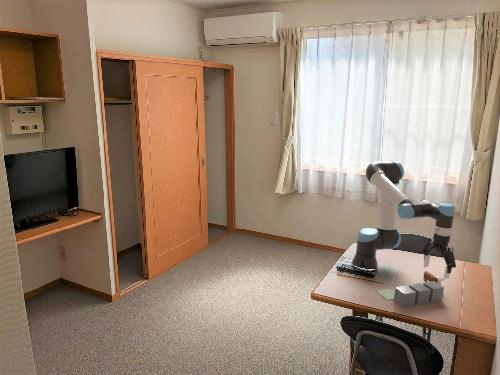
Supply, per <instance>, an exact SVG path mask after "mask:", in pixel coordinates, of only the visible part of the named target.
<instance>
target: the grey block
mask: <svg viewBox="0 0 500 375" xmlns="http://www.w3.org/2000/svg"><path fill="white" fill-rule="evenodd" d="M394 292H395V293H394V299H393V302H394V303H396V304H397V305H399V306H400V307H401V308H403V309H404V308H408V307H414V306H415V297H416V292H415V291H414V290H412V289H411V288H409V286H408V285H402V286H396V287H395V288H394Z"/></svg>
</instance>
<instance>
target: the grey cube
mask: <svg viewBox="0 0 500 375" xmlns="http://www.w3.org/2000/svg"><path fill="white" fill-rule="evenodd" d="M422 285H424V286H425V287H427V288H428V289H430V295H429V301H428V302H430V303H435V302H440V301H442V300H443V296H444V291H445V286H442V284H441V285H440V284H438V283H436V282H435V281H431V282H429V281H428V282H422Z"/></svg>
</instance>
